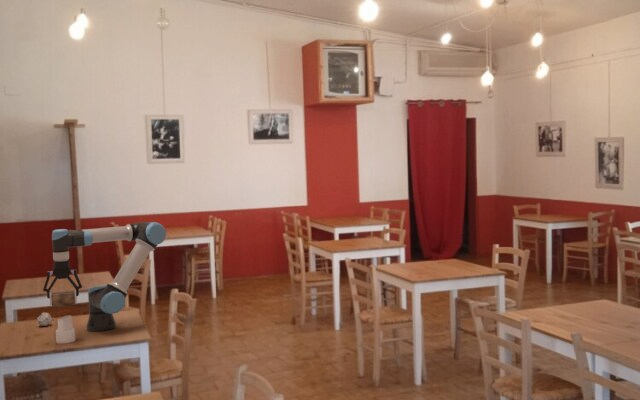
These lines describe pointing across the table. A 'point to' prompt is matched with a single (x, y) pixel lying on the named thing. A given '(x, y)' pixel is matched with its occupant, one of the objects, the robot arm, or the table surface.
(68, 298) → the walnut lid
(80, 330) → the table surface
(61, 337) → the white stepped block
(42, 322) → the game die
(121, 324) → the table surface
